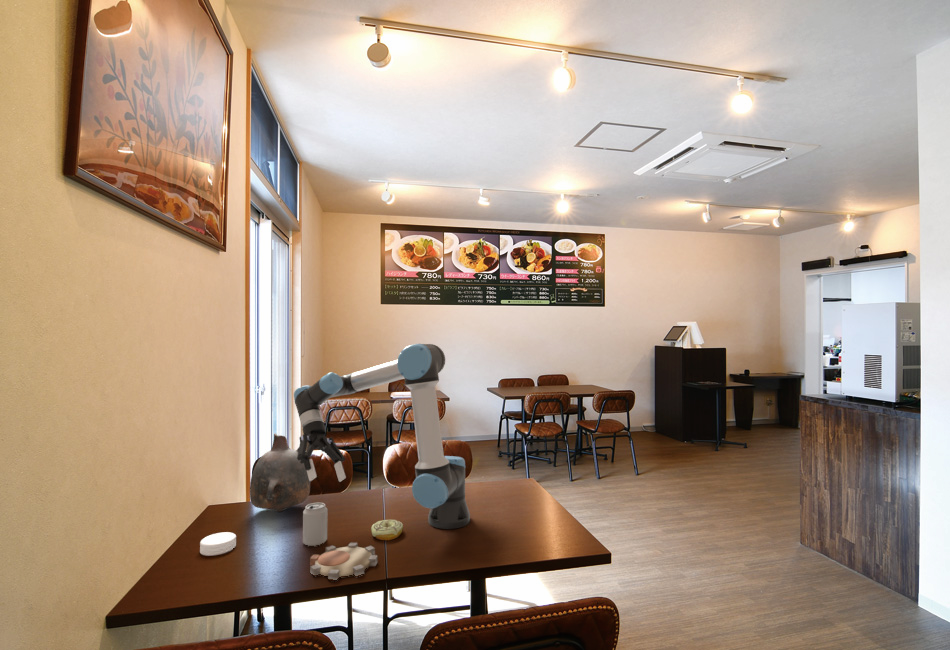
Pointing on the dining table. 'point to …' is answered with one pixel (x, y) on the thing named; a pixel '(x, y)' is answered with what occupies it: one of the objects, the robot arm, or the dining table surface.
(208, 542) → the white thick disc
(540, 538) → the dining table surface
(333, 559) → the sprocket wheel
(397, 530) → the decorated donut
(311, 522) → the can
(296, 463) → the jug
